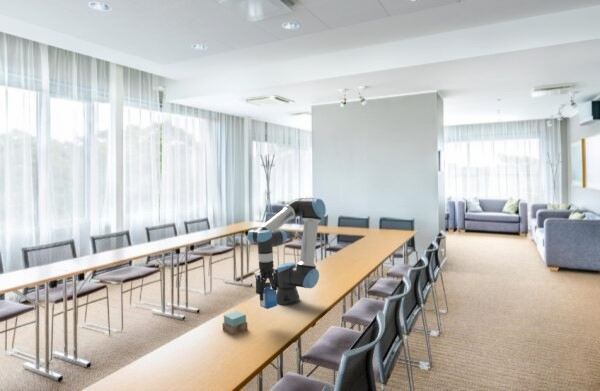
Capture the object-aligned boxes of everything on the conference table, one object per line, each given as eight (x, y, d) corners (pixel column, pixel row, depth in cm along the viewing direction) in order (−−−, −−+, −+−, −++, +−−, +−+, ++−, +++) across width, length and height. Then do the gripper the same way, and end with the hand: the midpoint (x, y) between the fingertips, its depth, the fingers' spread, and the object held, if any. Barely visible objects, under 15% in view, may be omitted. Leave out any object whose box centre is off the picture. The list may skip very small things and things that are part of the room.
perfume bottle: (267, 309, 186) (266, 286, 185) (260, 306, 190) (259, 283, 189) (277, 305, 190) (275, 283, 189) (269, 302, 195) (268, 280, 194)
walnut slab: (237, 325, 194) (237, 317, 193) (247, 329, 187) (247, 322, 187) (222, 330, 187) (222, 323, 187) (232, 335, 181) (232, 327, 181)
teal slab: (237, 318, 193) (236, 310, 193) (246, 322, 187) (245, 314, 187) (224, 322, 187) (223, 315, 187) (232, 327, 182) (232, 319, 181)
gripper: (275, 255, 198) (277, 297, 200) (246, 263, 184) (249, 308, 186) (284, 257, 192) (287, 300, 194) (255, 266, 179) (258, 311, 181)
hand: (268, 303), depth 190 cm, fingers closed on perfume bottle, 6 cm apart
